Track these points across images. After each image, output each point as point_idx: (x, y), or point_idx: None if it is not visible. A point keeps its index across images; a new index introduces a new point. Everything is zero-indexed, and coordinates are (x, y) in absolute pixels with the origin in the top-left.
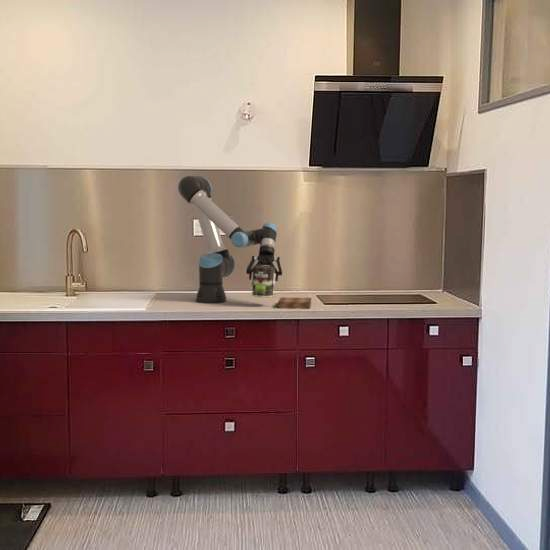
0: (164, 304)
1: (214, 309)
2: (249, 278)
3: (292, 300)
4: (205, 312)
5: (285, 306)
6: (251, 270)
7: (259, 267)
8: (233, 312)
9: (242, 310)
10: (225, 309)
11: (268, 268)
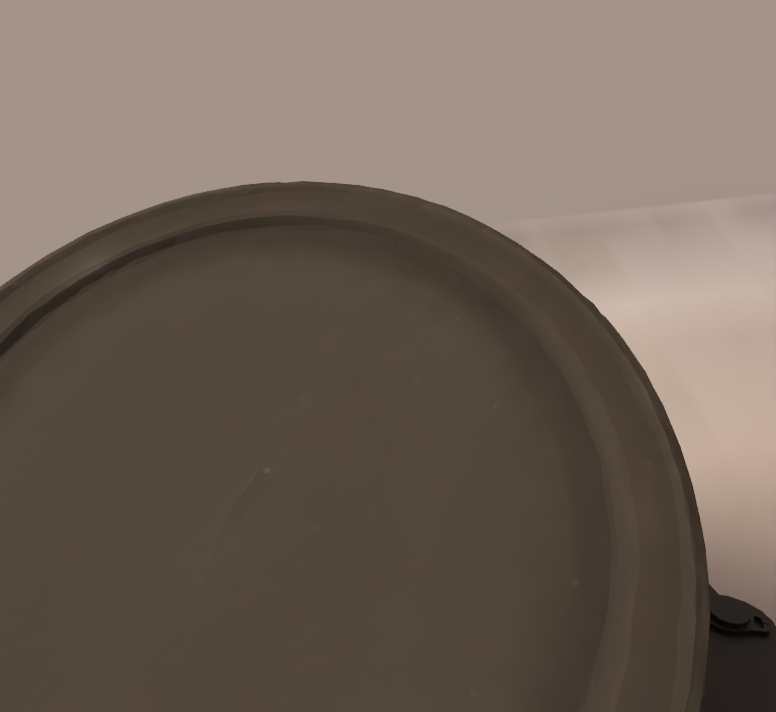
0: None
1: (741, 334)
2: None
3: None
4: (727, 213)
5: None
6: (734, 642)
7: (393, 303)
8: (530, 234)
9: None
10: (651, 345)
11: (107, 230)
